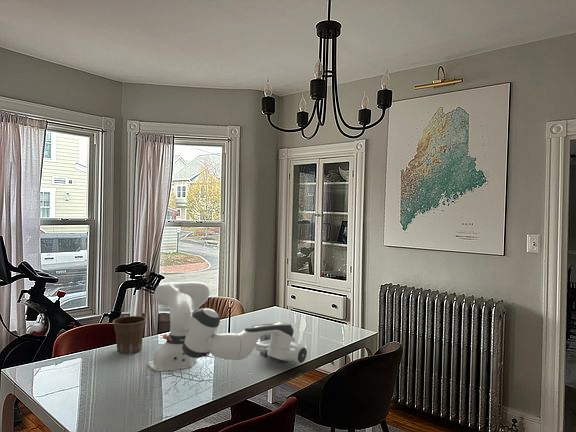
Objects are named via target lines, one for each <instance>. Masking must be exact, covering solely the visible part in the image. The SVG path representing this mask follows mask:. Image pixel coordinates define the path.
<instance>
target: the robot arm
mask: <svg viewBox="0 0 576 432" xmlns="http://www.w3.org/2000/svg"><path fill="white" fill-rule="evenodd" d="M209 297H210V288H209V286H208V284H206V283H205V282H199V281H183V282H182V281H178V282H177V281H174V282H173V281H171V282H165V283H161V284H158V285H157V286H156V288H155V290H154V298H155V302H156V303H157V304H158V305H161V306H165V307H166V308H168V309H169V319H170V321H169V322H170V323H169V324H170V325H169V326H170V327H169V328H170V329H169V332H170V333H168V335H167V334H165V333H164V334H163V335H162V338H163V339H164V340H166V341H165V342H164V343H163V344H162V345H161V346H160V347H159V348H157V350H155V352H154V354H153V359H152V360H151V361H149V362H148V364H149V366H148V367H149V368H150V369H151V370H152V371H155V372H158V373H159V372H161V373H162V372H170V371H176V370H181V369H187V368H192V367H193V365H194V364H196V363H197V359H200V358H203V357H208V356H210V354H211V355H212V356H213V357H215V358H218V359H223V360H229V361H241V360H244V359H247V358H248V357H249V356H250V355H251V354H252V352H253V351H254V350H255V351H257V352H259V353H260V352H268V353H267V356H266V357H268V359H269V360H270V361H271V362H273V363H276V364H278V365H285V364H288V363H290V362H293V363H298V364H302V363H304V362H305V360H306V358H307V355H308V354H307V353H308V350H307V348H306V347H305V346H304V345H302V344H300V343H298V342H296V338H295V337H294V336H293V335H294V331H295V330H294V328H293V326H292V325H291V323H289V322H285V321H277V322H272V323H265V324H256V325H249V326H246V327H245V328H244V329H243V330H242V331H240V332H236V333H235V332H234V333H233V332H222V333H218V332H217V329H218V327H219V325H220V323H221V315H219V313H218V312H217V311H216V310H214V309H212V308H209V307H202V305H203V304H205V303H206V302H207V301H208V299H209ZM200 307H202V308H200ZM266 334H271V339H269V340H264V341H260V337H261V336H262V335H266ZM254 348H255V349H254ZM169 370H170V371H169Z"/></svg>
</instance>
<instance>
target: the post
mask: <svg viewBox="0 0 576 432" xmlns="http://www.w3.org/2000/svg"><path fill="white" fill-rule="evenodd" d="M269 339H271V334H266V335H262V336H261V337H260V338H259V340H260V341H264V340H269ZM267 353H268V352H260V351H259V355H260V356H262V357H264V358H265V357H268V356H267Z"/></svg>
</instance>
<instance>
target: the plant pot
mask: <svg viewBox="0 0 576 432" xmlns="http://www.w3.org/2000/svg"><path fill="white" fill-rule="evenodd" d="M146 320H147V319H146V317H144V316H140V315H129V316H121V317H118V318H115V319H113V320H112V324H113V329H114V331H115V340H116V342H115V343H116V351H117V353H118V352H119V353H118V354H124V355H127V353H131V354H135V352H136V353H138V352H139V351H142V350H143V349H142V348H143V337H144V328H145V322H146Z"/></svg>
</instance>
